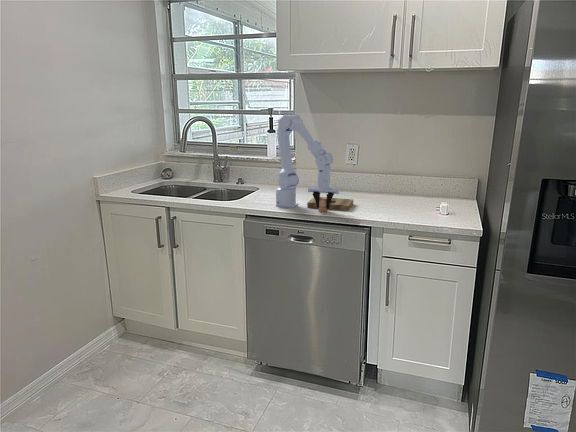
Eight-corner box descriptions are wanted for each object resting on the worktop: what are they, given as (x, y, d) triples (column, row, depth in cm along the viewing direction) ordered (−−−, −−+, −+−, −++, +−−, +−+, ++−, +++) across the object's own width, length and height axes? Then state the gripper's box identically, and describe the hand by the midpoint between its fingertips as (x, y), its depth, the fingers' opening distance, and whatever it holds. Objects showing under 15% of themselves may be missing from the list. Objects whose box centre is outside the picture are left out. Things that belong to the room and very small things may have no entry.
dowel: (317, 211, 200) (317, 199, 198) (319, 209, 203) (320, 197, 202) (326, 212, 198) (326, 200, 197) (328, 210, 202) (328, 198, 200)
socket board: (307, 207, 208) (307, 202, 207) (314, 201, 221) (314, 196, 220) (347, 210, 202) (348, 205, 201) (353, 204, 214) (353, 199, 214)
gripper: (306, 179, 195) (305, 208, 199) (337, 181, 191) (336, 211, 195) (310, 177, 202) (309, 205, 205) (340, 179, 197) (339, 207, 201)
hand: (323, 207), depth 200 cm, fingers closed on dowel, 4 cm apart
